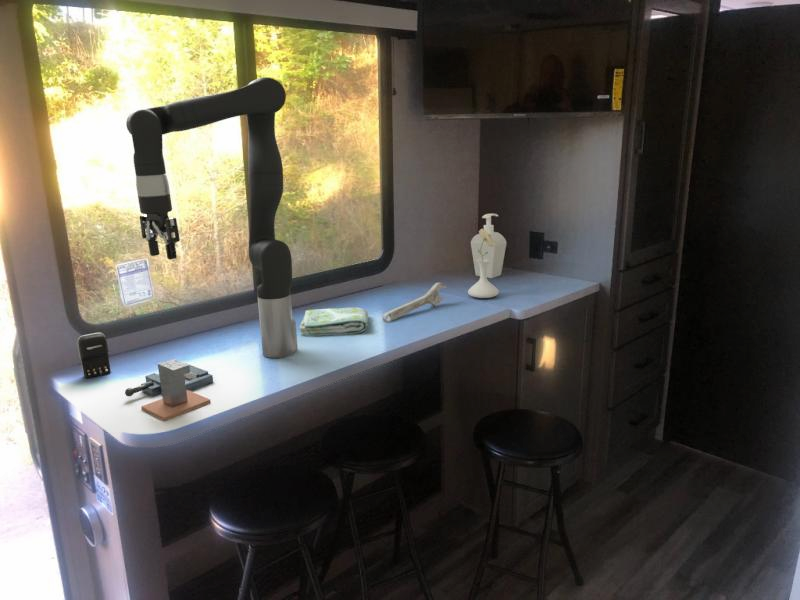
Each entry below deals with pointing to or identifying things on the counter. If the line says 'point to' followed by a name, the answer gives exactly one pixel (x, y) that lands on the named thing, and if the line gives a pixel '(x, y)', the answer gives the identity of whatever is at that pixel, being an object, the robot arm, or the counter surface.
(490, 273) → the soap bottle
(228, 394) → the counter surface
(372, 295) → the counter surface
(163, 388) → the gray rectangular prism
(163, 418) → the mat
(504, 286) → the counter surface
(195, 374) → the vise
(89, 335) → the battery charger
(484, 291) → the flower in vase
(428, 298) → the wrench
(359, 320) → the towel
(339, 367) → the counter surface
